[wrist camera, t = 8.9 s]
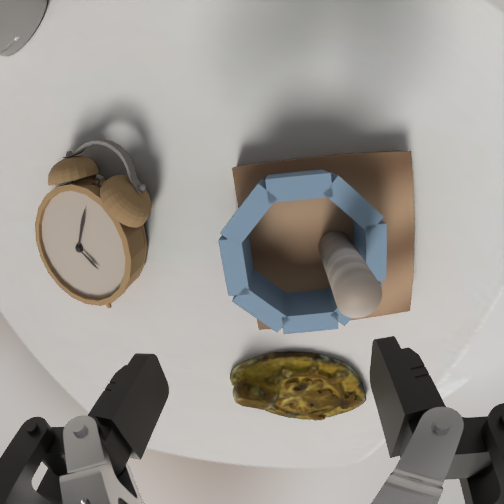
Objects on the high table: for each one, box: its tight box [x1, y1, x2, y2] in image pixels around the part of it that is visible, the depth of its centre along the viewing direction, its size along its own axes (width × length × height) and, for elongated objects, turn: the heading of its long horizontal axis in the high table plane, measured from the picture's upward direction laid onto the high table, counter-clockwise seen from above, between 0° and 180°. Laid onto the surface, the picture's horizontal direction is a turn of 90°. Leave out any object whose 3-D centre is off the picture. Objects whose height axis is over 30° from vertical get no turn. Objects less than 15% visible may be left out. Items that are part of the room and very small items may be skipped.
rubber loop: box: [218, 169, 387, 334], centre depth 20 cm, size 10×10×4 cm
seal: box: [230, 352, 366, 421], centre depth 27 cm, size 9×5×15 cm
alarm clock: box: [35, 140, 151, 308], centre depth 23 cm, size 11×5×15 cm
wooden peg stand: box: [232, 151, 414, 330], centre depth 19 cm, size 13×13×10 cm
